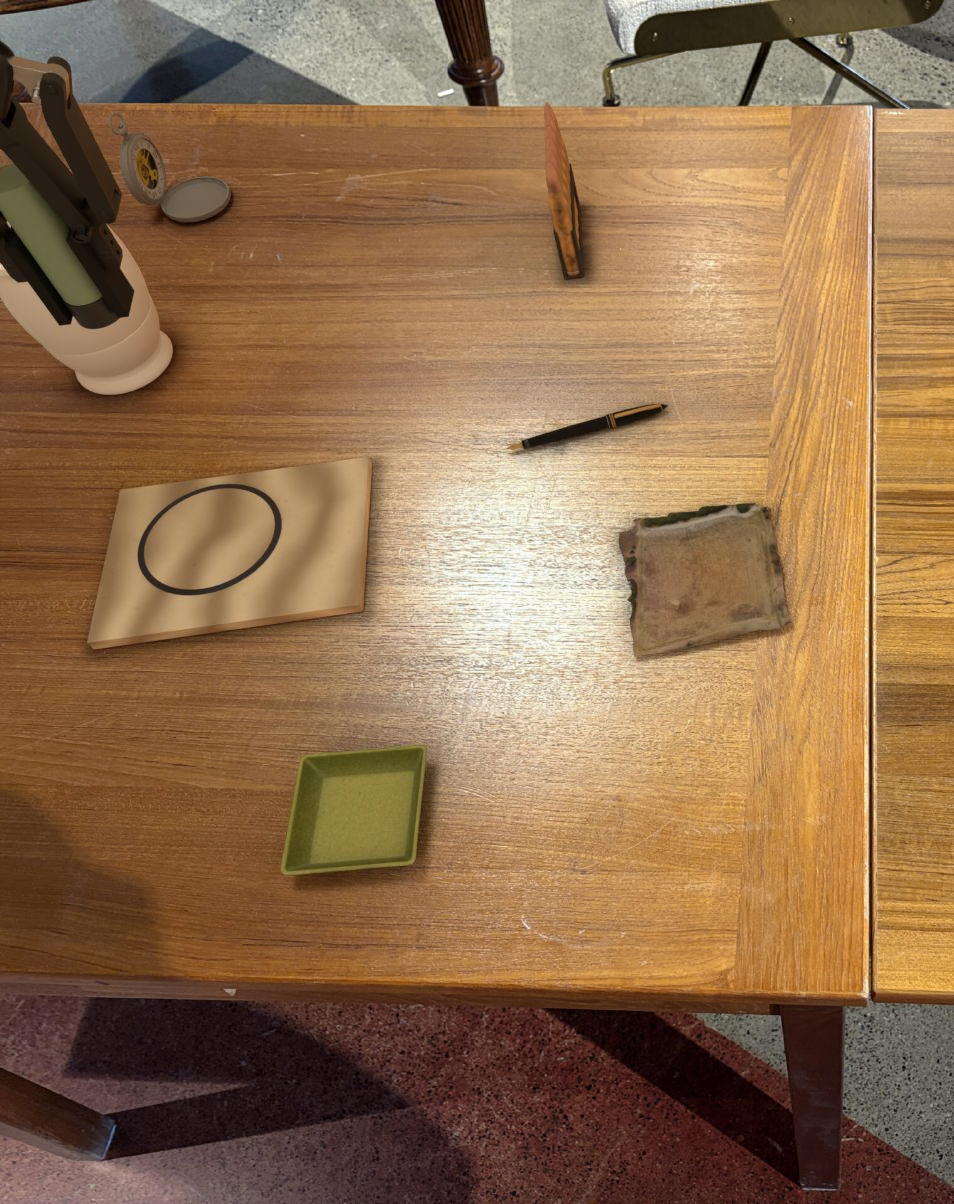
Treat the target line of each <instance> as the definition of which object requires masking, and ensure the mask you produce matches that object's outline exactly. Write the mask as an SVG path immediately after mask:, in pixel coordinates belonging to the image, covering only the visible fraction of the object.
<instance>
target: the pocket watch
mask: <svg viewBox="0 0 954 1204" xmlns="http://www.w3.org/2000/svg"><path fill="white" fill-rule="evenodd" d="M114 116H117V117H118V118H120V120H121V122H119V123H117V124H116V127H117V128H118V129H117V131H116V130H115V129H114V128H113V125H112V119H113V117H114ZM108 128H109V129H110V131H111V133H113V134H114V135H116V136H122V137H123V138H122V140H121V142H120V147H119V166H120V171H121V175H122V178H123V181H124V183H125V185H126V188H127V189H128V191H129V194H131V196H132V197H133V198H134V199H135V200H136V201H137V202H139V203H140V204H143V205H146V206H158V205H159V206H160V208H161V210H162V212H163V213H164V214H165V216H166V217H168V218H169V219H171V220H172V221H176V222H179V223H197V222H201V221H205V220H208V219H210V218H213V217H215V216H216V215H218V214H219V213H221V212H223V210H224V209H225V208H226V207H227V206H228V204H229V202H230V201H231V196H232V194H231V189H230V187H229V185H228V184H227V182H226V181H224V180H223V179H220V178H219V177H215V176H210V175H209V176H208V175H207V176H206V175H202V176H196V177H189V178H186V179H184V180H181V181H179V182H177V183H176V184H174V185H173V186H171V187H170V188H169V189H167V174H166V173H167V172H166V168H165V164H164V161H163V157H162V155H161V153H160V151H159V148H158V147H157V146H156V144H155V143H154V142H153V140H152V139H151V137H149V136H148V135H147V134H145V133H143V132H138V131H137V132H136V131H135V132H131V133H128V131H129V129H128V126H127V125H126V120H125V118H124V116H123V115H122V114H121V113H119V112H112V113H111V114H110V116H109V117H108Z"/></svg>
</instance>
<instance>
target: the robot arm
mask: <svg viewBox="0 0 954 1204" xmlns="http://www.w3.org/2000/svg"><path fill="white" fill-rule="evenodd" d="M15 82H17V83H19V84H21V85H22V86H23V87H24V88H25V90H26V92H27V94H28V96H29V97H30V100H31V102H32V103H33V104H34V105H38V106H41V112H42V116H43V119H44V121H45V123H46V126H47V127H48V129H49V131H50V133H51V135H52V137H53V139H54V141H55V143H56V145H57V146H58V149H59V150H60V152H61V154H62V156H63V158H64V161H66V163H67V165H68V166H67V165H66V164H65V162H64V161H63V160H62V159H61V158H60V156H58V154H57V153H56V152H55V151H54V149H53V148H52V147H51V146H50V145H49V144H48V143H47V141H46V140H45V139H44V138H43V137H42V135H41V134H40V133H39V132H38V130H37V129H36V128H35V127H34V126H33V124H32V123H31V122H30V121H29V119H28V116H27V112H26V110H25V109H24V107H23V106H22V105H21V103H20V102H19V101H18V99H16V97H15V96H14V95H13V92H14V85H15ZM73 88H74V87H73V76H72V67H71V64H70V63H69V62H68V61H67V60H66V59H65V58H64V57H62V56H57V55H56V56H55V55H54V56H50V57H49V58H48V59H47V61H46V62H41V61H37V60H33V59H29V58H25V57H21V56H18V55H17V56H16V55H15V53H14V52H13V50H12V49H11V48H10V46H8V45H7V44H6V42H5V43H4V42H3V40H1V39H0V150H1V151H2V153H4V154H5V156H6V157H7V158H8V159H9V160H10V161H11V163H12V164H15V165H16V167H17V168H18V169H19V170H20V171H21V172H22V173H23V175H24V176H25V177H26V178H27V179H28V180H29V181H30V182H31V184H32V185H33V186H34V187H35V188H36V189H37V190H38V192H39V193H40V194H41V195H42V196H43V197H44V198H45V200H46V201H47V202H48V203H49V204H50V205H51V206H52V208H53V209H54V210H55V211H56V212H57V213H58V214H59V215H60V217H61V218H62V219H63V220H64V221H65V222H66V223H67V225H68V226H69V227H70V229H69V232H68V236H67V239H66V242H67V243H68V245H69V246H70V248H71V249H72V251H73V252H74V254H75V255H76V257H77V258H78V260H79V261H80V263H81V264H82V266H83V267H84V269H85V270H86V272H87V273H88V275H89V276H90V278H91V279H92V281H93V282H94V284H95V285H96V287H97V288H98V290H99V291H100V293H101V294H102V296H103V297H104V299H105V300H106V302H107V303H108V305H109V306H110V308H111V309H112V311H113V312H114V314H115V315H116V317H117V318H123V317H129V313H130V309H131V304H132V300H133V295H134V289H133V288H132V286H131V284H130V283H129V281H128V280H127V278H126V277H125V275H124V274H123V272H122V270H121V269H120V266H121V262H122V258H123V253H122V249H121V247H120V245H119V244H118V243H117V241H116V239H115V238H114V236H113V234H112V233H111V231H110V229H109V228H108V226H109V225H111V224H114V223H115V222H116V221H117V217H118V215H119V214H118V213H119V210H120V206H121V203H122V202H121V201H122V197H123V193H122V191H121V189H120V187H119V185H118V183H117V181H116V179H115V177H114V175H113V172H112V171H111V169H110V167H109V165H108V163H107V161H106V158H105V156H104V154H103V152H102V150H101V148H100V146H99V144H98V142H97V140H96V138H95V136H94V133H93V132H92V130H91V128H90V126H89V124H88V122H87V120H86V118H85V115H84V114H83V112H82V110H81V108H80V106H79V103H78V101H77V99H76V98H75V95H74V90H73ZM68 167H69V168H68ZM106 224H107V225H108V226H107V225H106ZM0 263H1V265H2V266H3V267H4V269H5V270H6V271H7V273H8V274H9V275H10V277H11V278H13V279H14V280H15V281H17V282H18V283H21V282H28V283H29V284H30V286H31V287H32V289H33V290H34V291H35V293H36V294H37V295H38V297H39V298H40V300H41V301H42V302H43V304H44V305H45V307H46V308H47V309H48V311H49V312H50V313H51V315H52V316H53V318H54V319H55V320H56V322H57V323H58V324H59V326H62V325H70V324H71V322H72V318H73V315H72V314H71V312H70V311H69V310H68V308H67V307H66V305H65V304H64V302H63V300H62V297H61V296H60V294H59V293H58V291H57V290H56V289H55V287H54V286H53V284H52V283H51V281H50V280H49V279H48V277H47V276H46V274H45V273H44V272H43V270H42V269H41V267H40V266H39V264H38V263H37V262H36V260H35V259H34V257H33V256H32V255H31V253H30V252H29V250H28V249H27V248H26V246H25V245H24V243H23V242H22V240H21V239H20V238H19V236H18V235H17V233H16V232H15V231H14V229H13V228H12V226H11V228H10V227H9V225H8V224H7V219H6V218H5V216H4V215H3V214H2V212H1V211H0Z"/></svg>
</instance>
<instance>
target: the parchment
mask: <svg viewBox="0 0 954 1204" xmlns="http://www.w3.org/2000/svg"><path fill="white" fill-rule="evenodd" d="M771 512H772V508H770V507H768V506H764V507H763V506H761V505H760V504H757V503H756V502H752V503H751V502H747V503H745V502H744V503H736V504H721V505H704V506H701V507H700V508H699V509H698V510H692V511H678V512H677V511H675V512H668V513H667V515H665V516H658V517H657V516H655V517H649V516H648V517H639V518H638V517H637V518H635V519H633V520H632V522H634V524H635V525H634V526H633V527H632V529H629V530H625V531H622V532H619V535H618V547H619V550H620V553H621V554H622V555H623V563H624V565H625V567H624V575H625V578H626V581H627V582H629V581H630V582H631V583H630V590H631V594H630V596H629V597H628V598H627V600H626V601H628V602H629V603H631V606H632V607H631V613H630V616H629V627H630V633H631V636H632V649H633V650H632V651H633V656H634V657H639V656H648V655H654V654H662V653H669V652H672V653H673V652H676V651H681V650H686V649H690V648H694V647H697V646H702V645H703V646H704V645H706V644H711V643H715V642H718V641H723V640H726V639H729V638H732V637H735V636H740V635H743V634H747V633H753V632H756V631H757V632H758V631H772V630H784V629H785V626H786V625H787V624H788V625H789V623H792V624H793V620H792V617H791V614H790V611H789V609H788V608H787V605H786V596H785V589H784V586H783V585H784V580H783V570H784V567H781V565H780V564H779V563H781V561H782V560H781V559H782V557H781V556H780V554H778V552H777V551H776V550H775V547H776V546H777V541H776V537H775V534H774V530H773V525H772V518H771V517H770V516H769V515H770V514H771Z"/></svg>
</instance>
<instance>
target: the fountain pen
mask: <svg viewBox="0 0 954 1204" xmlns="http://www.w3.org/2000/svg"><path fill="white" fill-rule="evenodd" d="M668 406H669V404H664V403H660V402H659V403H651V404H645V405H639V406H636V407H631V408H627V409H622V410H618V411H615V412H610V413H606V414H605V415H602V416H599V417H596V418H592V419H589V420H586V421H581V422H577V423H575V424H570V425H568V426H564V427H561V428H557V429H554V430H551V431H547V432H545V433H541V434H537V435H534V436H532V437H528V438H525V439H521V442H519V443H514V444H511V445H510V446H508V447H505V448H503V449H502V450H512V451H515V450H517V449H523V450H526V449H527V450H528V449H531V448H535V447H540V446H545V445H548V444H552V443H557V442H561V441H565V440H569V439H573V438H577V437H581V436H585V435H589V434H593V433H596V432H599V431H603V430H607V429H615V428H618V427H621V426H625V425H629V424H632V423H635V422H638V421H641V420H645V419H647V418H648V419H649V418H650V417H653V416H655V415H658V414H660V413H662V412H663V411H665V410H666V408H667V407H668Z"/></svg>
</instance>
